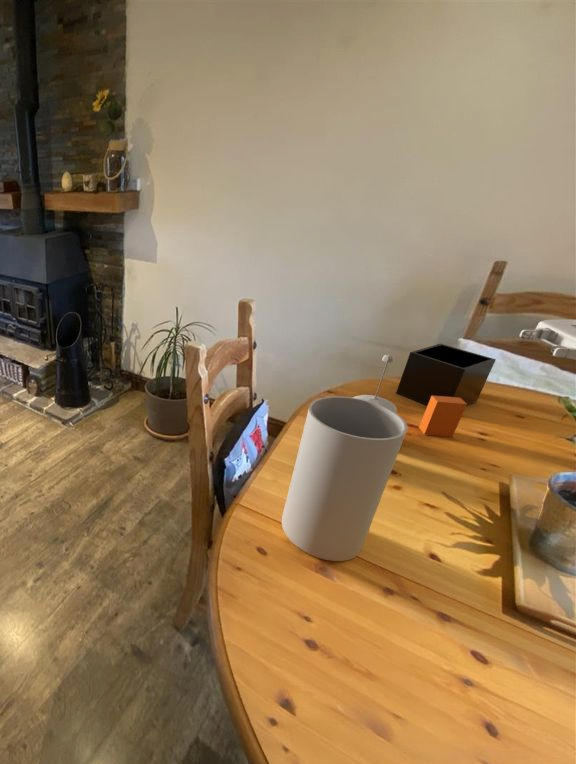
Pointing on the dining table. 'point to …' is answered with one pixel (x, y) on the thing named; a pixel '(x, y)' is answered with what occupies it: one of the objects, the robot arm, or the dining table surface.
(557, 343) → the robot arm
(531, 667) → the dining table surface
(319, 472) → the cylinder vase
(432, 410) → the block
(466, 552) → the dining table surface
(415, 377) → the bin
